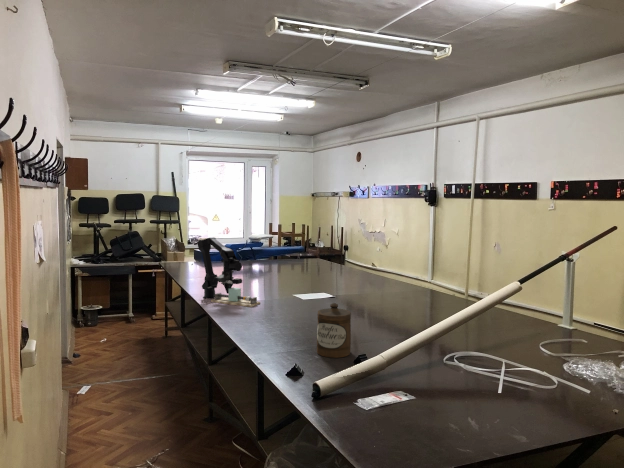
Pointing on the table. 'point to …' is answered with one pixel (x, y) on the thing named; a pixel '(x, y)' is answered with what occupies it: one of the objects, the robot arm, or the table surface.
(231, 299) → the pale teal block
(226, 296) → the long grey square rod
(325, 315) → the wooden container
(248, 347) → the table surface
